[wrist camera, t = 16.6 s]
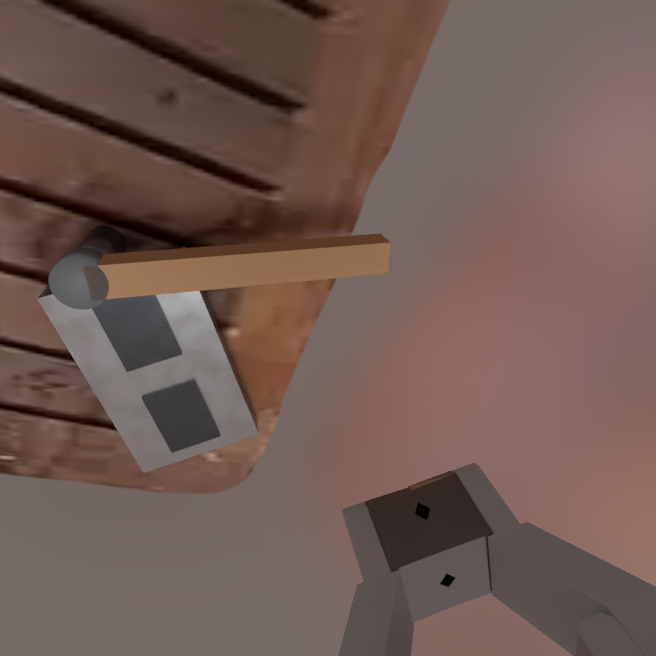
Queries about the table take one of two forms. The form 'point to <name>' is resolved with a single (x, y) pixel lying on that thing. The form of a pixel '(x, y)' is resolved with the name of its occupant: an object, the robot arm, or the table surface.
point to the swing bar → (212, 267)
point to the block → (156, 368)
